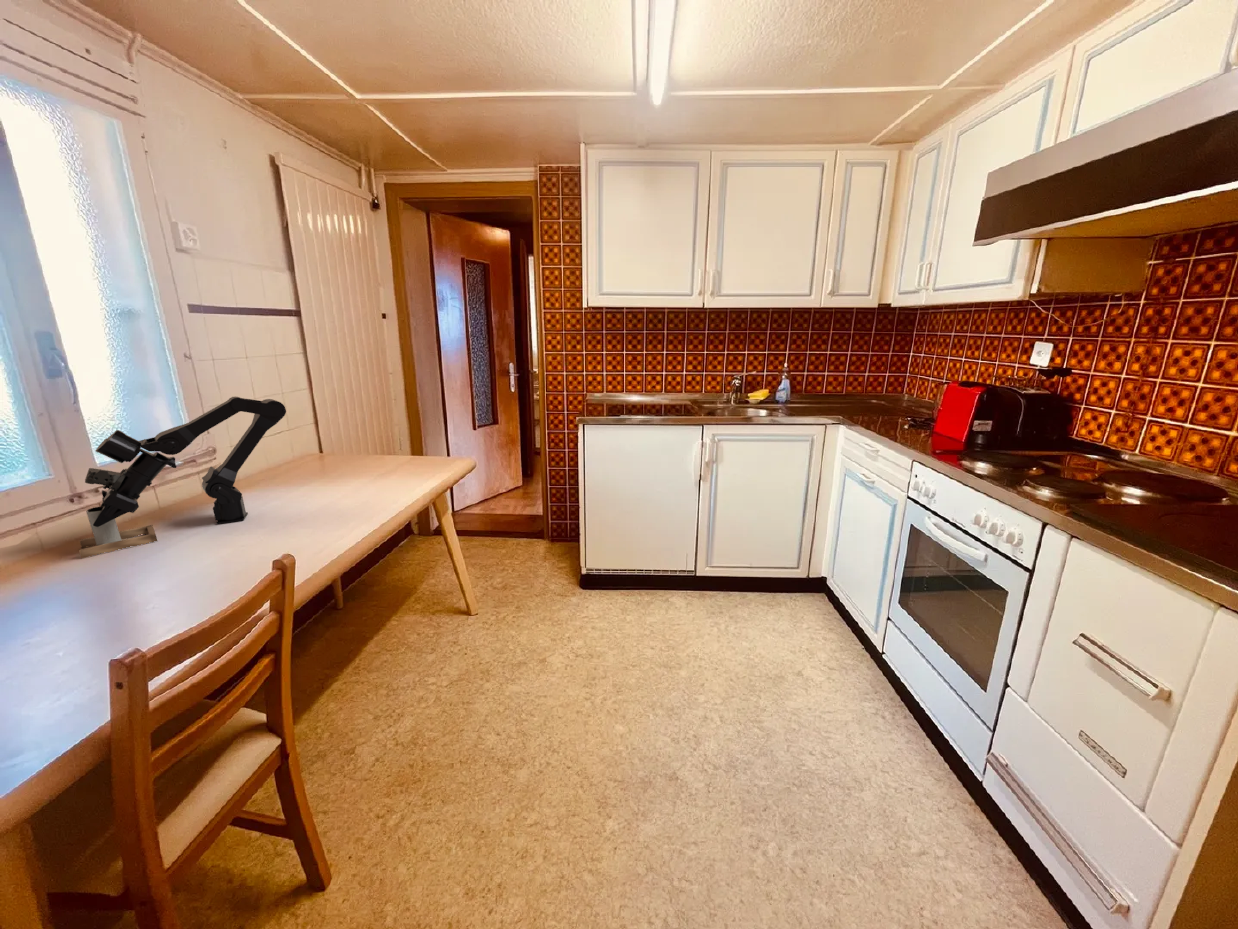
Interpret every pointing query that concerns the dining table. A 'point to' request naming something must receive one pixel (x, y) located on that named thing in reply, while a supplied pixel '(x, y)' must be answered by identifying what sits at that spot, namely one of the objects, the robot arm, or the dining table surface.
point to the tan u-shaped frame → (119, 544)
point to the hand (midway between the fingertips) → (95, 523)
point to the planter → (103, 528)
